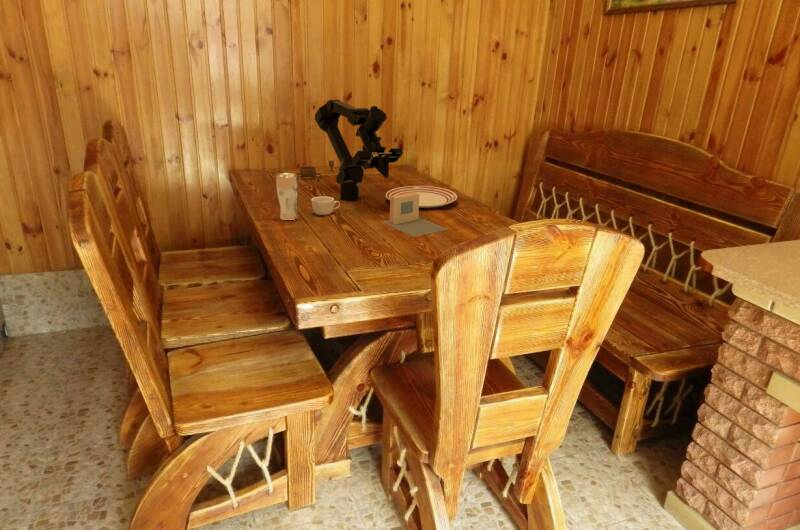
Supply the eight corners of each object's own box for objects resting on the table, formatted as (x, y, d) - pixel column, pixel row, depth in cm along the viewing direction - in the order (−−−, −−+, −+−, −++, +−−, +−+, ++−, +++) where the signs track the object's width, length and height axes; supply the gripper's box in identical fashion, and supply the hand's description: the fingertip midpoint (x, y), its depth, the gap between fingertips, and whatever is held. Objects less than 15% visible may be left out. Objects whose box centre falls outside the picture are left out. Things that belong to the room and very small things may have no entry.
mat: (381, 223, 180) (381, 221, 180) (415, 216, 188) (415, 215, 188) (413, 237, 167) (414, 236, 167) (448, 230, 175) (448, 229, 174)
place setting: (291, 175, 248) (290, 162, 245) (333, 172, 254) (333, 160, 252) (298, 183, 232) (297, 170, 230) (343, 180, 239) (343, 167, 237)
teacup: (313, 217, 184) (313, 202, 182) (310, 211, 191) (309, 196, 189) (342, 216, 187) (342, 201, 185) (338, 210, 194) (337, 195, 192)
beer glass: (281, 222, 178) (279, 178, 173) (276, 217, 184) (273, 173, 179) (302, 220, 181) (299, 176, 176) (295, 214, 187) (293, 172, 182)
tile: (389, 222, 180) (390, 196, 177) (413, 217, 185) (414, 192, 182) (394, 224, 178) (394, 197, 175) (418, 219, 183) (419, 194, 180)
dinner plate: (452, 215, 192) (453, 206, 190) (377, 209, 197) (377, 200, 195) (460, 196, 217) (460, 188, 215) (393, 191, 222) (393, 183, 220)
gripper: (381, 151, 201) (397, 186, 197) (338, 154, 190) (354, 192, 186) (395, 133, 192) (412, 170, 188) (351, 135, 181) (368, 175, 178)
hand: (387, 177), depth 185 cm, fingers closed
